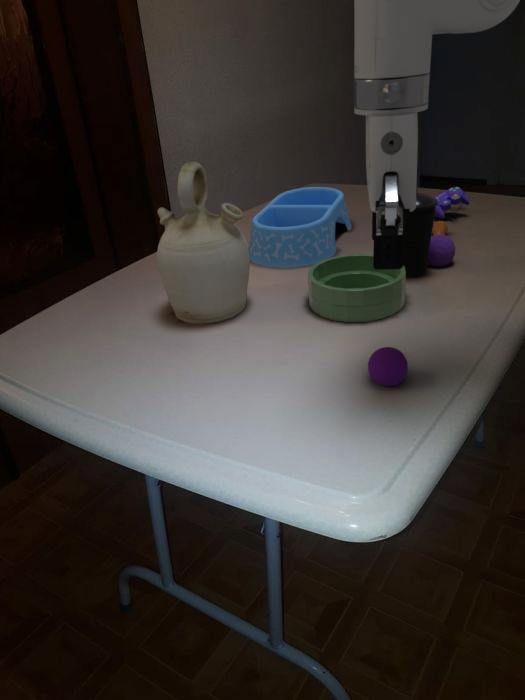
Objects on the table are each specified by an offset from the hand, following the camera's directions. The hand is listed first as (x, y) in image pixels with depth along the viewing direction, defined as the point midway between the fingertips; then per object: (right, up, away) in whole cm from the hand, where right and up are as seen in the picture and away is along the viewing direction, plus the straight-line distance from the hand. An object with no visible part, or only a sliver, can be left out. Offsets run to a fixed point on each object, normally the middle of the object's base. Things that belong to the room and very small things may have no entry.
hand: (386, 253), depth 66 cm
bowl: (+1, -4, +28) cm, 28 cm away
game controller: (+28, +20, +64) cm, 73 cm away
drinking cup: (+13, +2, +36) cm, 38 cm away
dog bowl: (-6, +12, +58) cm, 60 cm away
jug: (-24, -5, +31) cm, 39 cm away
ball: (+1, -14, +5) cm, 15 cm away
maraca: (+20, +8, +45) cm, 50 cm away
